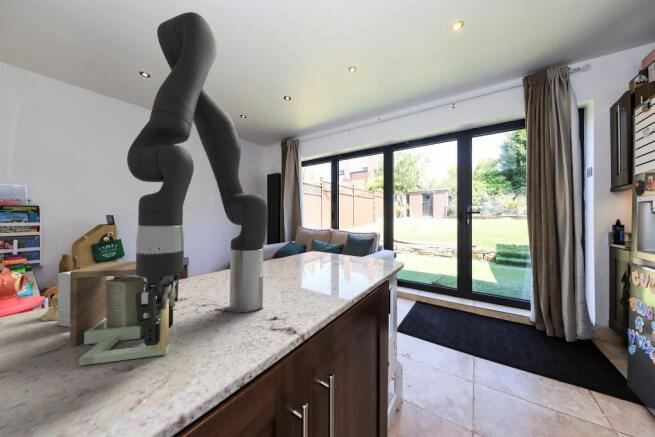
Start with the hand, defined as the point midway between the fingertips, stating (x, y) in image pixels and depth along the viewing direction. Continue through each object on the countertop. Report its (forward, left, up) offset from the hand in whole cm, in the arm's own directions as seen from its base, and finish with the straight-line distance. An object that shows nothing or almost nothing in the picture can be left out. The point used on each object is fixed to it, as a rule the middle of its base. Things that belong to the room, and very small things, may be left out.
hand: (160, 334), depth 46 cm
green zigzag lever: (+7, -8, -3) cm, 11 cm away
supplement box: (+23, -21, -4) cm, 31 cm away
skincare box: (+11, -12, -4) cm, 17 cm away
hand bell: (+31, -27, -4) cm, 41 cm away
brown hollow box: (+11, -12, -4) cm, 17 cm away
